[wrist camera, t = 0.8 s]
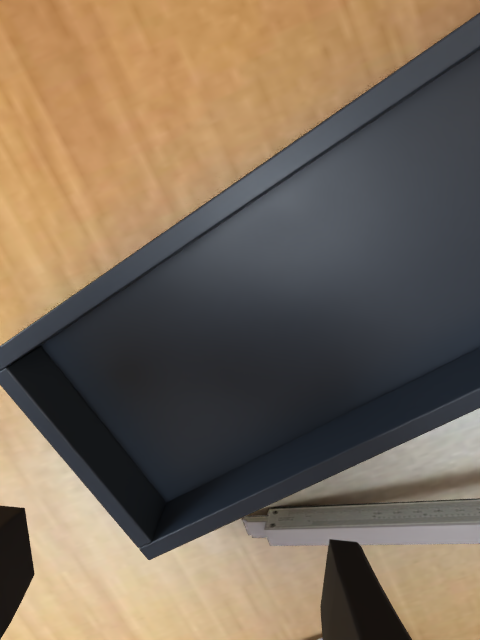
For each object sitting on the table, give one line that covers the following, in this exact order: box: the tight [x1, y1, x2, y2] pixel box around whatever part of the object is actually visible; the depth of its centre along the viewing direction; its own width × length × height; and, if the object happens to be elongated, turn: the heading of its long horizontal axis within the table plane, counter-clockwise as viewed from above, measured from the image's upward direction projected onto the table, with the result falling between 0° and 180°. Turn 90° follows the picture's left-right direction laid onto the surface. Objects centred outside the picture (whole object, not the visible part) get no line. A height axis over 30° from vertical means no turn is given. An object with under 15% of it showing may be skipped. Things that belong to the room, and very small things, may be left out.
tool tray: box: [0, 13, 480, 560], centre depth 16 cm, size 12×25×3 cm, turn 123°
